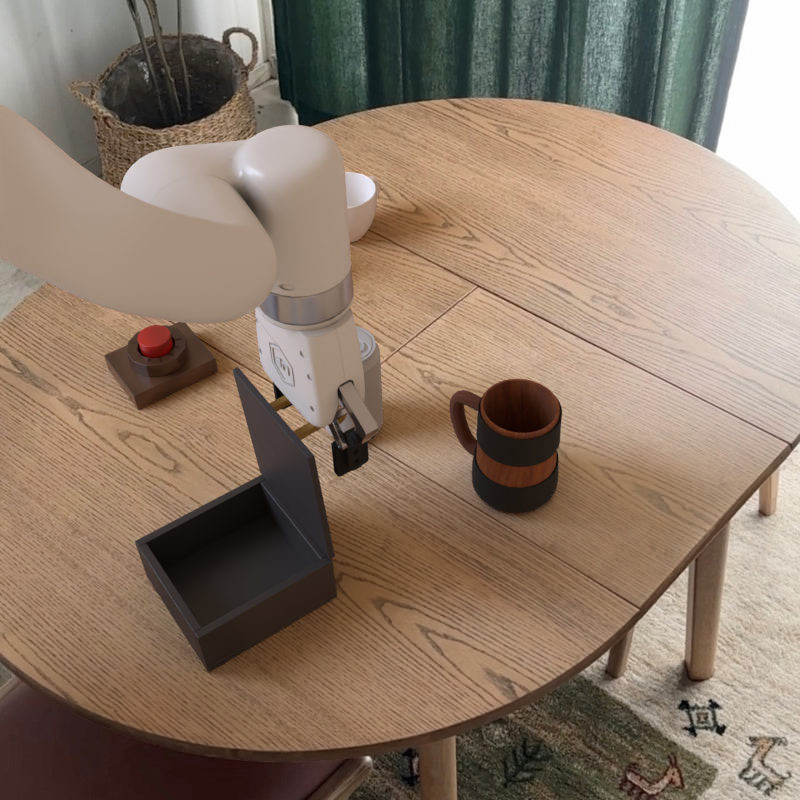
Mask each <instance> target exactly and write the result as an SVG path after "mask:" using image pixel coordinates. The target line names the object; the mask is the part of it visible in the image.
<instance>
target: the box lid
mask: <svg viewBox="0 0 800 800" xmlns="http://www.w3.org/2000/svg"><path fill="white" fill-rule="evenodd" d="M232 375H233V378H234V382H235V385H236V389H237V393H238V396H239V400H240V403H241V404H240V405H241V407H242V412H243V414H244V415H243V416H244V418H245V422H246V425H247V430H248V433H249V436H250V439H251V444H252V447H253V451H254V455H255V459H256V462H257V466H258V470H259V473H260V475H263V477H264V478H265V479H266V480H267V482H268V483H269V484H270V485H271V487H272V488H273V489H274V490H275V492H276V493H277V494H278V496H279V497H280V498H281V499H282V501H283V502H284V503H285V504H286V506H287V507H288V508H289V509H290V511H291V512H292V513H293V514H294V516H295V517H296V518H297V519H298V521H299V522H300V523H301V524H302V526H303V527H304V528H305V529H306V531H307V532H308V533H309V534H310V536H311V537H312V538H313V539H314V541H315V542H316V543H317V544H318V546H319V547H320V548H321V549H322V551H323V552H324V553H325V554H326V556H327V557H328V558H329V559H330V560H331V559H332V560H333V559H334V558H336V554H335V553H336V552H335V548H334V543H333V539H332V534H331V531H330V530H331V529H330V525H329V520H328V515H327V509H326V505H325V500H324V496H323V491H322V487H321V481H320V477H319V472H318V467H317V461H316V458H315V454H313V453H312V451H311V450H310V448H308V447H307V445H306V444H305V443H304V442H303V441H302V440H303V439H305V438H307V437H309V436H311V435H312V434H314V433H316V432H317V431H319V430H321V429H322V428H319V427H316V426H314V425H312V424H311V423H309V422H307V423H306V424H304V425H302V426H300V427H299V428H297V429H295V430H293V429H292V428H291V426H290V425H289V424H288V423H287V422H286V420H284V419H283V417H282V416H281V415H280V414H279V413H278V411H280V410H283V409H282V408H284V407H286V406H288V405H290V404H291V402H290V401H289V400H288V399H287V398H286V396H285V395H284V396H282V397H280V398H278V399H277V400H275V399H274V400H273V401H271V402H269V401H268V400H267V399H266V398H265V396H263V394H262V393H261V391H260V390H259V389H258V388H257V387H256V386H255V384H254V383H253V382H252V381H251V380H250V379H249V378H248V377H247V375H245V373H244V372H243V371H242V370H241V368H240V367H238V366H236V367H234V368H233V369H232ZM339 407H341V405H340V404H339V405H338V408H339ZM346 415H347V414H346ZM346 415H344V416H342V417H340V418H338V419H337V420H338V422H339V424H341V423H342V422H343V421H344V419H345V418H346ZM323 428H325V426H324V427H323Z"/></svg>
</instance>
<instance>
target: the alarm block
mask: <svg viewBox="0 0 800 800" xmlns="http://www.w3.org/2000/svg"><path fill="white" fill-rule="evenodd" d="M161 326H165V327H166V328H168V329H169V331H170V334H171V338H172V342H173V348H172V350H171V351H170V352H169V353H168V354H167V355H165V356H163V357H159V358H149V357H146V356H144V355H143V354H142V353H141V350H140V346H139V343H138V334H139V333H140V332H141V331H142V330H143V329H141V330H139V331H136V333H135V334H134V335H133V336H132V337H131V338H130V339H129V340H128V341H127V344H126V345H124V346H122V347H119V348H117V349H115V350H113V351H111V352H108V353H106V354H104V355H103V356H104V360H105V363H106V366H107V369H108V371H109V372H110V373H111V375H112V376H113V378H114V379H115V380H116V382H117V383H118V384H119V386H120V387H121V389H122V390H123V391H124V393H125V394H126V396H127V397H128V398H129V400H130V401H131V402H132V403H133V404H132V405H134V407H135V408H136V409H137V410H138V411H139V410H141V409H143V408H145V407H148V406H150V405H151V404H154V403H155V402H158V401H160V400H162V399H164V398H166V397H168V396H171V395H173V394H175V393H177V392H180V391H182V390H183V389H185V388H187V387H189V386H191V385H194V384H195V383H198V382H200V381H203V380H205V379H206V378H209V377H210V376H212V375H215V374H217V373H218V372H219V369H218V364H217V359H216V357H215V356H214V354H213V353H212V352H211V351H210V350H209V349H208V348H207V347H206V345H205V344H204V343H203V342H202V341H201V339H200V338H199V337H198V336H197V335H196V334H195V332H194V331H193V330H192V329H191V327H190V326H189V325H188V323H182V322H176V323H173V324H170V325H166V324H164V325H161Z"/></svg>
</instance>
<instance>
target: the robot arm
mask: <svg viewBox="0 0 800 800" xmlns="http://www.w3.org/2000/svg"><path fill="white" fill-rule="evenodd" d="M345 170H346V169H345V163H344V156H343V153H342V151H341V149H340V147H339V145H338V144H337V142H336V141H335V140H334V139H333V138H332V137H331V136H330V135H329V134H327V133H326V132H324V131H323V130H320V129H317V128H314V127H312V126H308V125H301V124H284V125H278V126H273V127H270V128H266V129H264V130H262V131H260V132H258V133H256V134H255V135H253V136H252V137H250V138H247V139H240V140H239V139H238V140H232V141H220V142H208V143H207V142H206V143H194V144H184V145H175V146H169V147H164V148H161V149H157V150H154V151H152V152H150V153H147V154H145V155H143V156H142V157H140V158H139V159H138V160H136V161H135V162H134V163H133V164H132V165H130V167H129V168H128V169H127V171H126V173H125V174H124V176H123V179H122V181H121V184H120V189H119V188H117V187H115V186H113V185H111V184H110V183H109V182H107V181H105V180H104V179H102V178H100V177H98V176H97V175H95V174H94V173H93V172H91V171H90V170H88V169H87V168H85V167H84V166H83V165H82V164H80V163H79V162H78V161H77V160H75V159H73V158H72V157H71V156H70V155H69V154H68V153H67V152H65V151H64V150H63V149H62V148H61V147H59V146H58V145H57V144H56V142H53V141H52V139H51V138H49V137H48V136H47V135H46V134H44V133H43V132H42V131H41V130H40V129H39V128H37V127H36V126H35V125H34V124H32V123H31V122H30V121H29V120H27V119H25V118H24V117H22V116H21V115H20V114H18V113H17V112H15V111H13V109H10V108H9V107H7V106H5V105H4V104H2V103H0V260H2V261H3V262H5V263H7V264H9V265H11V266H13V267H14V268H17V270H20V271H22V272H24V273H26V274H28V275H31V276H33V277H35V278H37V279H40V280H42V281H44V282H45V283H48V284H50V285H52V286H54V287H55V288H58V289H60V290H62V291H65V292H66V293H68V294H71V295H73V296H74V297H77V298H79V299H82V300H84V301H87V302H89V303H92V304H94V305H97V306H100V307H102V308H104V309H105V308H106V309H108V310H112V311H116V312H119V313H123V314H127V315H131V316H137V317H141V318H149V319H155V320H162V321H168V322H176V323H178V322H182V323H186V324H194V325H214V324H215V325H216V324H222V323H227V322H228V323H229V322H231V321H235V320H238V319H240V318H243V317H245V316H247V315H250V314H251V313H252V312H254V313H255V314H254V316H255V327H256V329H255V330H256V337H257V338H256V339H257V346H258V347H257V348H258V354H259V360H260V361H259V362H260V365H261V367H262V369H263V371H264V372H265V374H266V375H267V376H268V378H269V379H270V380H271V382H272V387H273V394H274V401H275V400H277V399H278V398H280V397H282V396H284V395H285V396H286V398H287V399H288V400H289V401H290V402H291V404H290V405H288V406H286V407H284V408H282V409H281V410H286V409H288V408H289V407H292V406H293V407H294V408H295V409H296V410H297V411H298V412H299V414H300V415H301V416H302V417H303V418H304V419H305V420H306V421H307V423H311V424H312V425H314V426H316V427H319V428H321V429H323V428H325V427H324V426H327V425H328V426H329V428H330V431H331V433H332V435H333V436H332V437H333V441H332V442H331V443H330V446H331V455H332V463H333V464H332V465H333V472H334V474H335V475H336V477H338V478H340V477H343V476H345V475H347V474H348V473H351V472H354V471H356V470H358V469H360V468H362V466H363V465H365V464H367V463H368V461H369V460H370V457H369V456H370V455H369V444H368V443H369V442H368V441H371V440H372V439H374V438H375V436H376V434H377V433H378V432H379V431H378V425H377V423H376V421H375V420H374V418H373V416H372V415H371V413H370V411H369V410H368V408H367V407H366V405H365V403H364V399H365V382H364V371H363V364H362V357H361V350H360V345H359V339H358V334H357V330H356V326H357V325H356V321H355V317H354V312H353V310H352V306H353V303H354V300H355V292H354V279H353V277H354V276H353V265H352V253H351V242H350V239H349V225H348V211H347V197H346V183H345V172H346V171H345ZM338 398H339V399H340V401H341V403H342V404H343V406H341V407H339V408H338V405H339V400H338ZM346 414H349V416H350V418H351V419H352V421H353V423H354V425H355V427H353V428H351V429H349V430H347V431H345V432H343V431H342V429H341V427H340V425H339V422H338V420H337V419H338V418H340V417H342V416H344V415H346ZM377 431H378V432H377ZM376 432H377V433H376Z"/></svg>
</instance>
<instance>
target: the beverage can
mask: <svg viewBox="0 0 800 800" xmlns="http://www.w3.org/2000/svg"><path fill="white" fill-rule="evenodd" d="M356 330H357V334H358V339H359V345H360V350H361V357H362V364H363V371H364V382H365V399H364V403H365V405H366V407H367V408H368V410H369V411H370V413H371V415H372V416H373V418H374V420H375V421H376V423H377V425H378V431H377V432H376V434H378V433H379V431H381V429H382V426H383V424H384V405H383V403H384V402H383V384H382V366H381V365H382V364H381V350H380V347H379V345H378V342H377V341H376V339H375V337H374V335H373V333H372V332H370V331H369V330H367V329H365V328H363V327H360V326H357V325H356ZM338 400H339V404H340V405H341V406H343V404H342V403H341V401H340V399H339V398H338ZM339 425H340V427H341V429H342V431H343V432H345V431H347V430H349V429H351V428H353V427H355V425H354V423H353V421H352V419H351V418H350V416H349V414H347V415H346V418H345V419H344V421H343V422H342V423H341V424H339ZM324 428H325V429H326V431H327V433H328V434H329V435H330V436H331V437H333V435H332V433H331V431H330V428H329V426H328V425H327V426H325V427H324Z"/></svg>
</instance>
